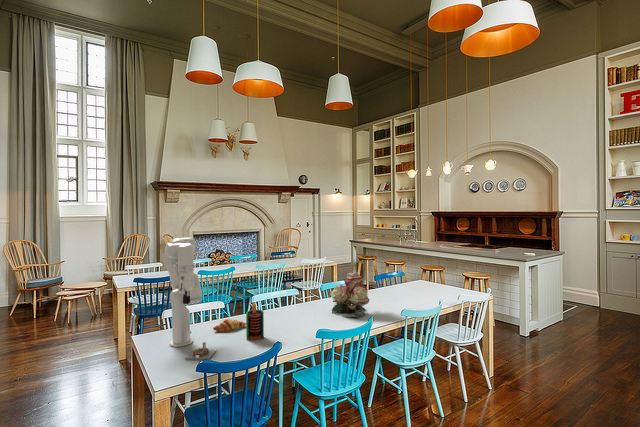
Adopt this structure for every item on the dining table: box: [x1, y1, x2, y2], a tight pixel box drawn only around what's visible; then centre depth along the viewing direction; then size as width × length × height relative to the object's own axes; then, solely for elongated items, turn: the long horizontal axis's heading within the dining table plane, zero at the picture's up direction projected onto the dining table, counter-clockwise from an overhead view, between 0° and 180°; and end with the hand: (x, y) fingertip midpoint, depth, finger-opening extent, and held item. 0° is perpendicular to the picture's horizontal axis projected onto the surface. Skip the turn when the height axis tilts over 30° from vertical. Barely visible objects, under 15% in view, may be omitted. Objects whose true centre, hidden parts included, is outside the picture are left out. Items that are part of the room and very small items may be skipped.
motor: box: [245, 303, 265, 342], centre depth 209 cm, size 10×9×20 cm
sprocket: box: [192, 342, 210, 357], centre depth 184 cm, size 8×8×6 cm
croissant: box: [212, 318, 246, 333], centre depth 225 cm, size 21×10×8 cm, turn 120°
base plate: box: [185, 349, 217, 361], centre depth 184 cm, size 10×12×2 cm
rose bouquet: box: [329, 271, 370, 320], centre depth 255 cm, size 26×29×30 cm
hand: (186, 303), depth 183 cm, fingers closed
